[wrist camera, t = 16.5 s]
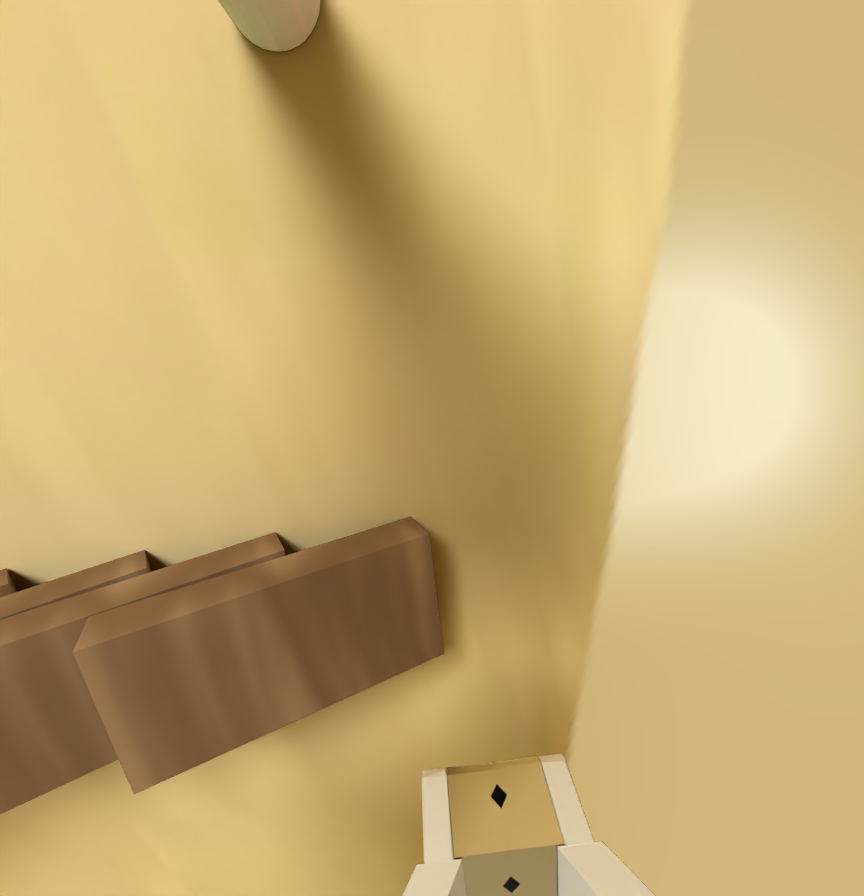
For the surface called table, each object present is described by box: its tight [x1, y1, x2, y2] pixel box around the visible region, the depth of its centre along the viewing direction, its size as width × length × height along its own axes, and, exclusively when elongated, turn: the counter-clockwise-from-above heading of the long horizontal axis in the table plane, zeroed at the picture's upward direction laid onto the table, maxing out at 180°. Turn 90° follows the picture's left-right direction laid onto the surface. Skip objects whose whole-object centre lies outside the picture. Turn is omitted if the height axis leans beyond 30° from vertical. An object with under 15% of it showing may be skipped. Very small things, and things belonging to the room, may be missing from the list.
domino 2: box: [73, 517, 444, 794], centre depth 14 cm, size 2×5×10 cm
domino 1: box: [0, 532, 286, 814], centre depth 14 cm, size 2×5×10 cm
